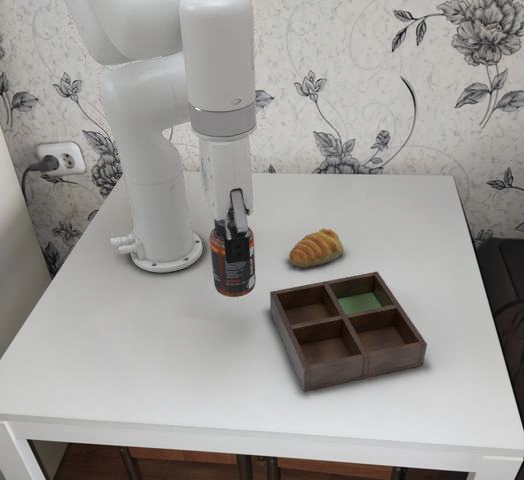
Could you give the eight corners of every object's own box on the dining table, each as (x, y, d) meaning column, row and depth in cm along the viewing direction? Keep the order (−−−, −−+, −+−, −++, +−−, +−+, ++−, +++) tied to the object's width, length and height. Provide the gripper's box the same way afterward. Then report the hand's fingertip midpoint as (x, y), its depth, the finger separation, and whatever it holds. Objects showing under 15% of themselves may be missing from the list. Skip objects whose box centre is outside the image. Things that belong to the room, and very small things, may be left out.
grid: (304, 391, 80) (304, 370, 77) (270, 312, 92) (269, 291, 89) (422, 365, 83) (427, 344, 80) (374, 291, 95) (377, 271, 92)
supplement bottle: (264, 288, 84) (262, 220, 76) (228, 305, 82) (223, 236, 74) (241, 268, 87) (237, 200, 79) (206, 283, 85) (199, 215, 77)
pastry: (305, 276, 98) (306, 257, 96) (280, 259, 102) (279, 240, 100) (346, 254, 103) (347, 236, 100) (319, 239, 106) (320, 220, 104)
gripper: (178, 89, 72) (194, 217, 85) (204, 153, 60) (217, 290, 73) (238, 82, 73) (244, 209, 86) (275, 143, 62) (276, 279, 74)
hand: (232, 245), depth 80 cm, fingers closed on supplement bottle, 6 cm apart
